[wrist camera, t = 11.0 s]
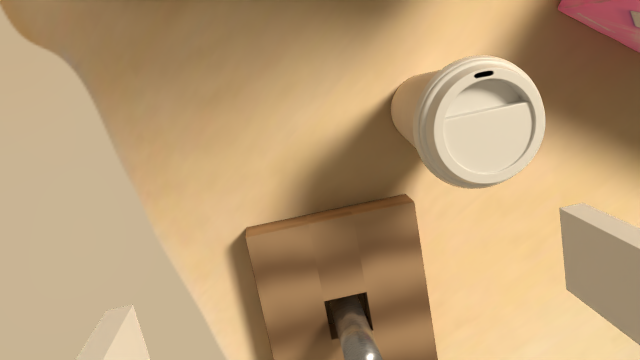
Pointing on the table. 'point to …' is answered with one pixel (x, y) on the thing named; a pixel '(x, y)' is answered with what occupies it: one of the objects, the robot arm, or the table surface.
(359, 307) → the pin
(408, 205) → the hole board
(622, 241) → the robot arm
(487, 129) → the coffee cup
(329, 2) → the table surface
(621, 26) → the gum box
